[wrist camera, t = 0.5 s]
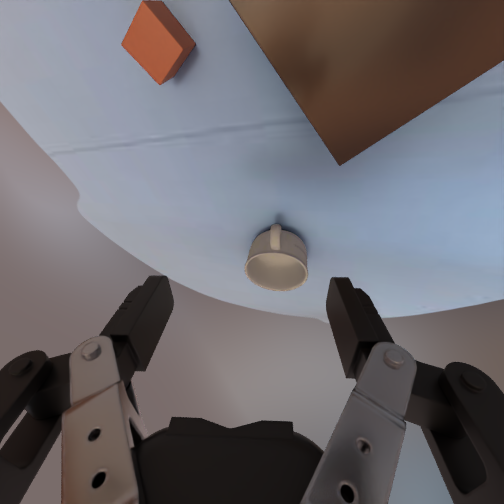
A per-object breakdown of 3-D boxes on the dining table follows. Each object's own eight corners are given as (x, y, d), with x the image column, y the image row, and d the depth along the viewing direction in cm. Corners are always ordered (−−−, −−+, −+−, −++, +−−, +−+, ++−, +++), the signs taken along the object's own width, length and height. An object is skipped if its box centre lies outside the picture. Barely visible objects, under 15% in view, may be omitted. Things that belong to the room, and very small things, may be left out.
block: (140, 39, 26) (120, 44, 23) (161, 0, 23) (142, -1, 20) (173, 76, 28) (159, 85, 25) (196, 43, 26) (183, 49, 23)
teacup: (298, 264, 50) (299, 296, 44) (247, 256, 50) (242, 288, 44) (318, 211, 39) (322, 244, 34) (254, 201, 40) (248, 233, 34)
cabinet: (245, 0, 23) (228, -1, 16) (407, -224, 15) (494, -389, 9) (329, 132, 30) (339, 166, 24) (465, 30, 23) (533, 41, 16)
